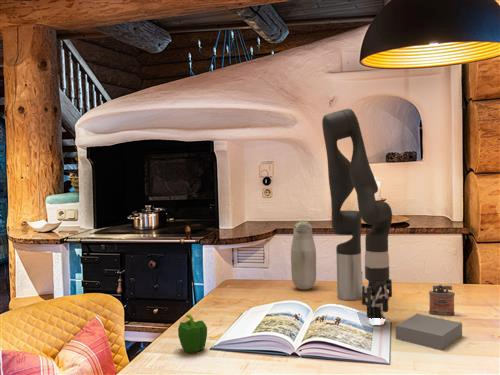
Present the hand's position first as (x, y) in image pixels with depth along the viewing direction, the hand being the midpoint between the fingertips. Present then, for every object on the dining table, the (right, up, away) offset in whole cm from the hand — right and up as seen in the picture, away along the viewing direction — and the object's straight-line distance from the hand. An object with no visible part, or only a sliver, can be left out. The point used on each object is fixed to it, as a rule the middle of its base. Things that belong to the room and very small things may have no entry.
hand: (377, 314), depth 162 cm
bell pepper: (-57, -6, -16) cm, 60 cm away
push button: (+1, -4, 0) cm, 4 cm away
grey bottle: (-19, -1, +45) cm, 49 cm away
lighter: (+24, -2, +9) cm, 25 cm away
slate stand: (+12, -4, -12) cm, 18 cm away
